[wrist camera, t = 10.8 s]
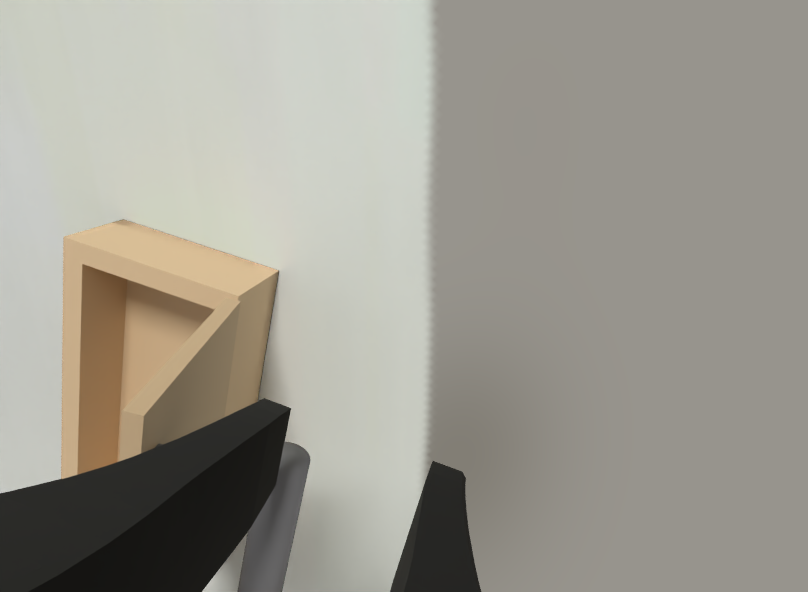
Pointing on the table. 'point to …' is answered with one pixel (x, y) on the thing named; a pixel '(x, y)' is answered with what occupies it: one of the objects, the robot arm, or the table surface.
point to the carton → (145, 326)
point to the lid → (202, 405)
